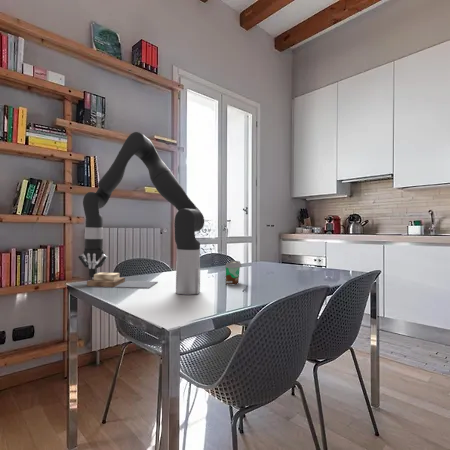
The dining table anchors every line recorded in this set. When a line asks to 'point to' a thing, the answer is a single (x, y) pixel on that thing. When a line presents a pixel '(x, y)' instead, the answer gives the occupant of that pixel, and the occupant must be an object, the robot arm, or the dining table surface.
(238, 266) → the food container
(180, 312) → the dining table surface
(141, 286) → the charcoal mat
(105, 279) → the beech tile
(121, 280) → the block
